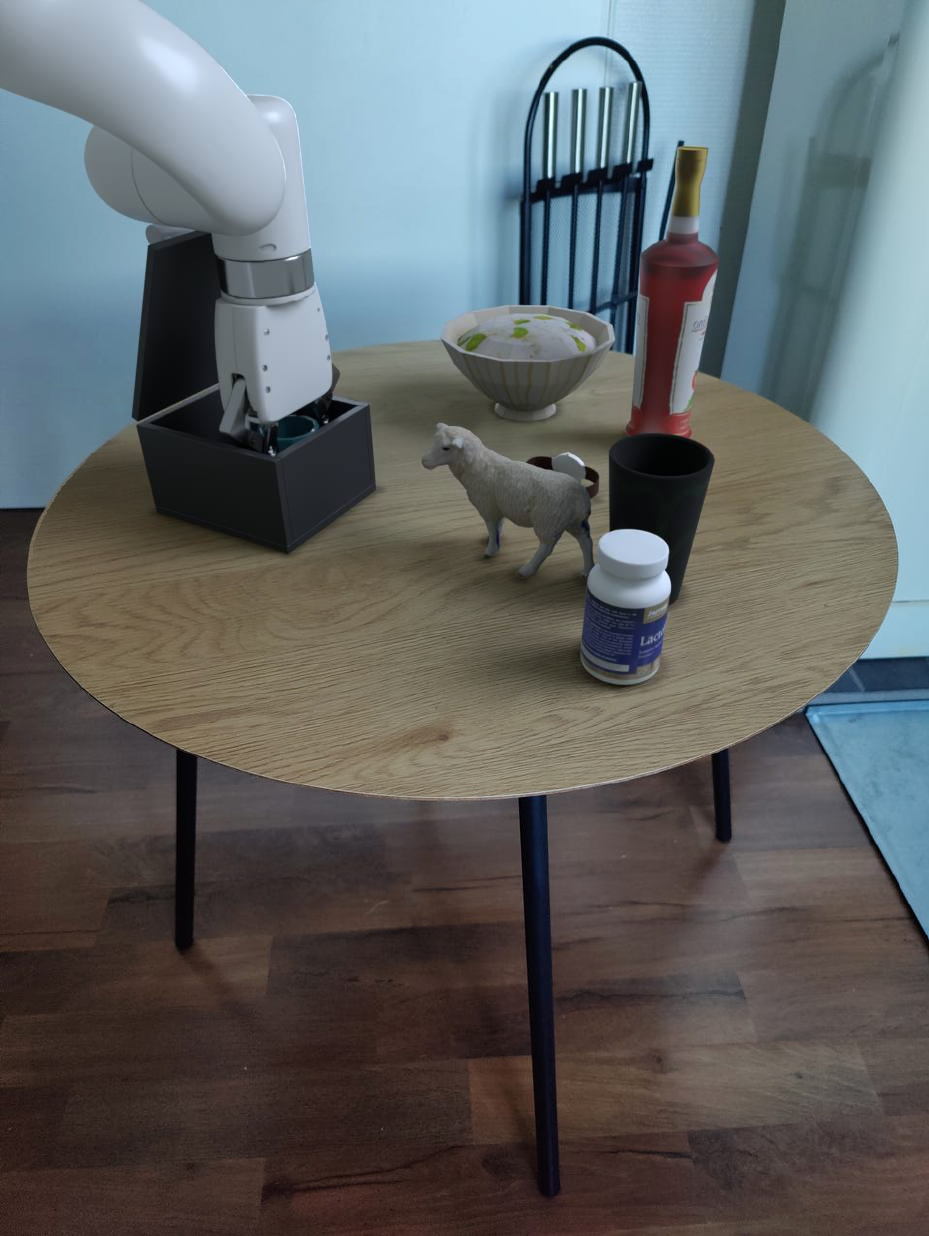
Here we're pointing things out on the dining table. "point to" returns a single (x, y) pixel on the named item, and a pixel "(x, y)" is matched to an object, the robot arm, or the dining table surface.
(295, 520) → the dark gray hinged chest
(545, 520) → the figurine
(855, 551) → the dining table surface
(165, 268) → the chest lid
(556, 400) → the bowl
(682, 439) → the cup
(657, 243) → the liquor
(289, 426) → the creamer cup
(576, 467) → the watch
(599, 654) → the pill bottle
